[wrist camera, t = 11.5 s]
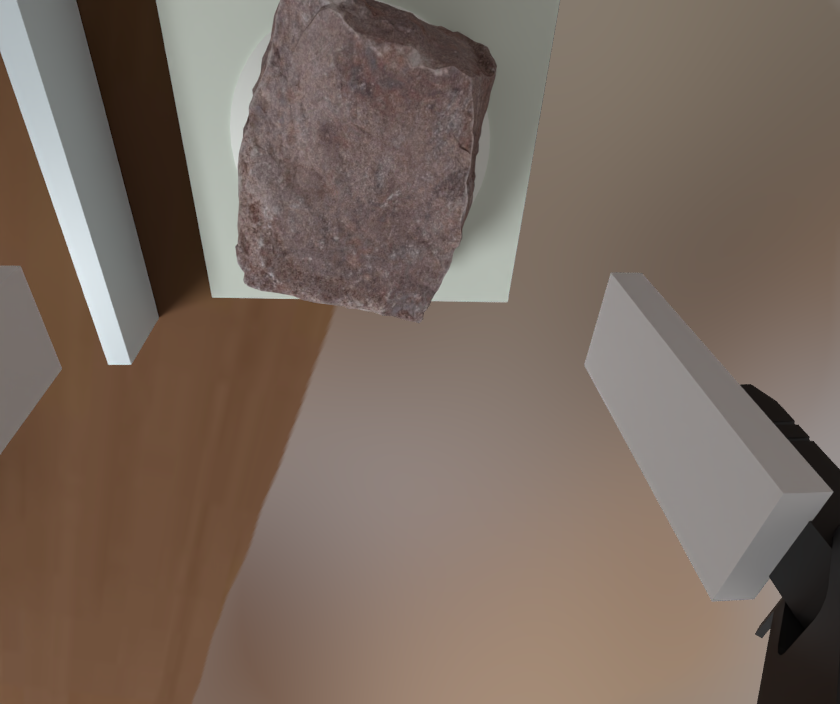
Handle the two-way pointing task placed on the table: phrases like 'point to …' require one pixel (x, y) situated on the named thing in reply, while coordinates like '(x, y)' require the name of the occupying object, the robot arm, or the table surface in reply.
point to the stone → (359, 155)
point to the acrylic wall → (79, 166)
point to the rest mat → (232, 93)
